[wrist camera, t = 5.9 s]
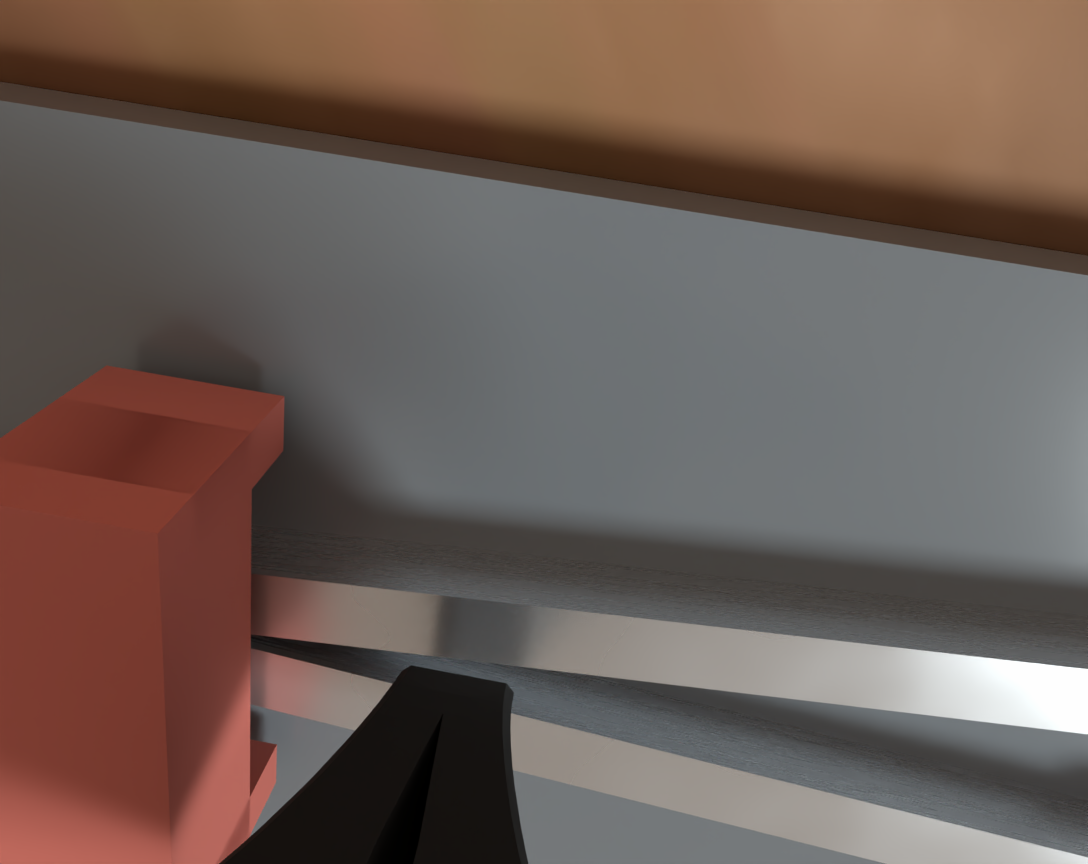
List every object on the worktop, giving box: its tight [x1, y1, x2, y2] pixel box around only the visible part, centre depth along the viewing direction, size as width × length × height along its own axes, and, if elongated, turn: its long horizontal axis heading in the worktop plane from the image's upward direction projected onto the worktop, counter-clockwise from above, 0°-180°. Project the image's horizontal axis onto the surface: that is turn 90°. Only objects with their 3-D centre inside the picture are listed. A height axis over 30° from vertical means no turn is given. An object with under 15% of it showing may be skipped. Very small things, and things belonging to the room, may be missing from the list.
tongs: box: [250, 524, 1088, 864], centre depth 14 cm, size 21×5×1 cm, turn 82°
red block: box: [0, 366, 284, 864], centre depth 13 cm, size 2×7×4 cm, turn 172°
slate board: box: [0, 82, 1088, 864], centre depth 15 cm, size 20×13×1 cm, turn 82°
